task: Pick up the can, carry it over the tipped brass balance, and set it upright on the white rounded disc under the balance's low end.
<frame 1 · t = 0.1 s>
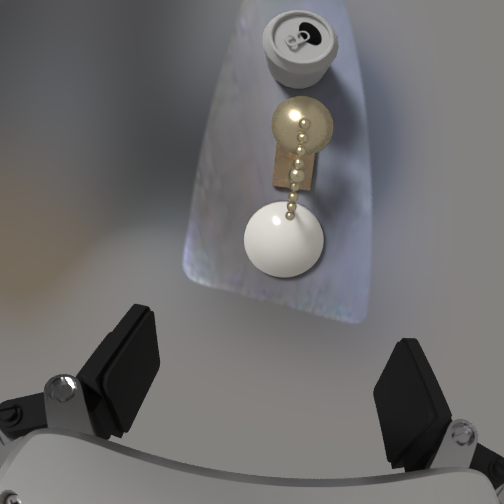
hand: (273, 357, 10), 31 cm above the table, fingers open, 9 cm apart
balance: (293, 164, 37), on the table
can: (296, 64, 32), on the table
white rounded disc: (283, 238, 41), on the table
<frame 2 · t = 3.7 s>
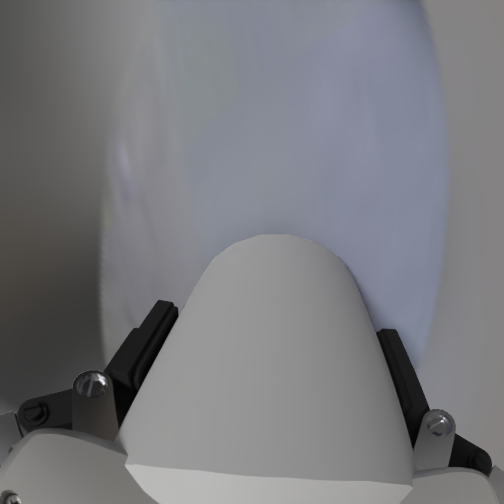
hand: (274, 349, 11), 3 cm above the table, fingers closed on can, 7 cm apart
can: (277, 300, 14), on the table, touching gripper
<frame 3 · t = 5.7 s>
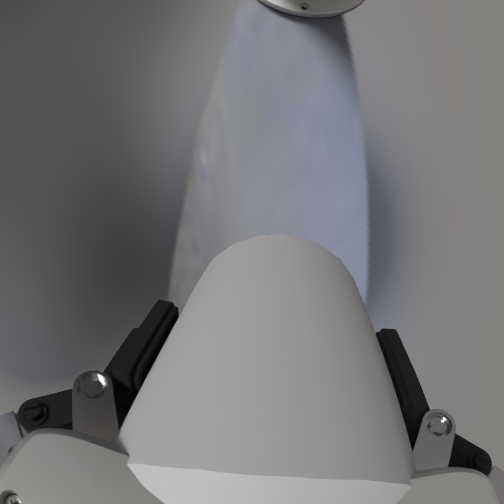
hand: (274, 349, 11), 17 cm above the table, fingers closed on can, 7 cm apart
can: (277, 300, 14), point 14 cm above the table, touching gripper
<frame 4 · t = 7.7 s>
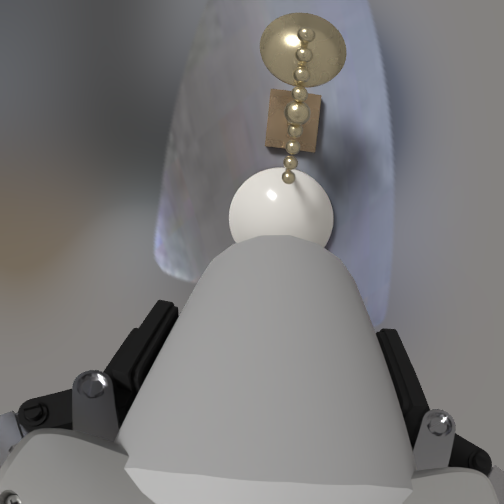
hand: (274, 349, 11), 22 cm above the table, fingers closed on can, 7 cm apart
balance: (292, 120, 27), on the table
can: (277, 301, 14), point 19 cm above the table, touching gripper
white rounded disc: (281, 217, 31), on the table
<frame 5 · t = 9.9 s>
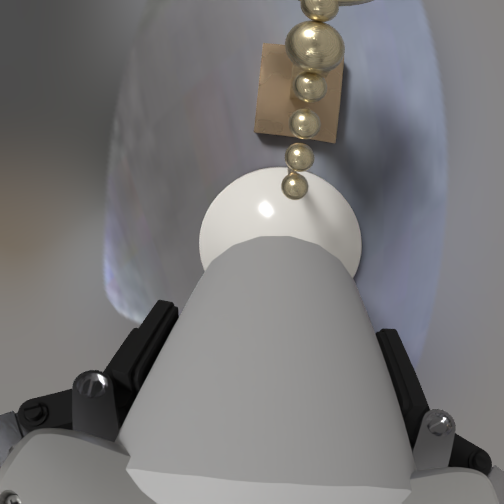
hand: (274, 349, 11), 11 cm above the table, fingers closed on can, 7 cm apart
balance: (299, 92, 16), on the table
can: (277, 301, 14), point 7 cm above the table, touching gripper
white rounded disc: (280, 245, 20), on the table
when the fingers open (6 cm above the table, at t = 11.9 s): can drops 2 cm, resting on white rounded disc.
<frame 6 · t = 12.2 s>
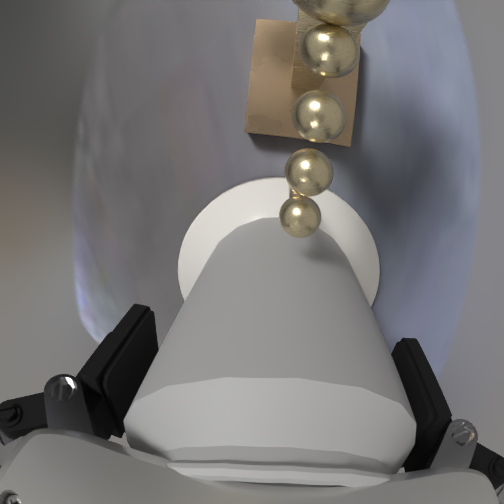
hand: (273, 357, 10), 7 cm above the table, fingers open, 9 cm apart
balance: (303, 81, 12), on the table
can: (278, 279, 15), point 1 cm above the table, touching white rounded disc
white rounded disc: (279, 274, 16), on the table
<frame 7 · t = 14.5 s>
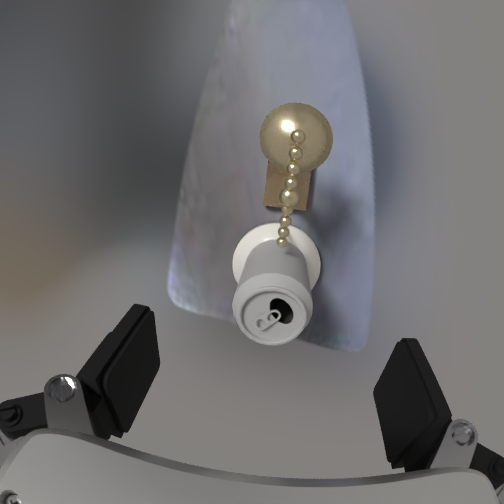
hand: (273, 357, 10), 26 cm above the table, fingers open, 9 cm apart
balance: (287, 181, 34), on the table
can: (276, 265, 36), point 1 cm above the table, touching white rounded disc
white rounded disc: (276, 263, 37), on the table
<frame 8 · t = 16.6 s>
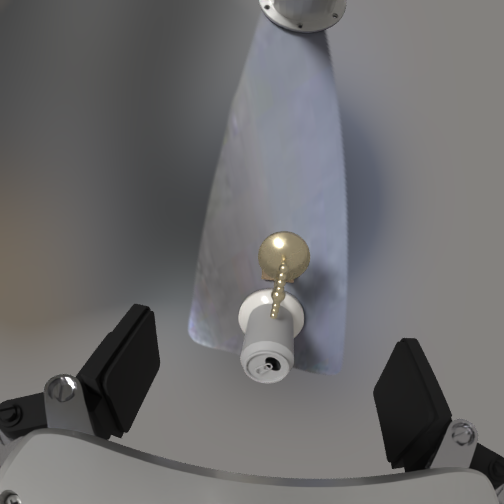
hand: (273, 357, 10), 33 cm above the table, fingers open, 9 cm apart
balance: (280, 260, 45), on the table
can: (271, 318, 48), point 1 cm above the table, touching white rounded disc
white rounded disc: (271, 316, 49), on the table
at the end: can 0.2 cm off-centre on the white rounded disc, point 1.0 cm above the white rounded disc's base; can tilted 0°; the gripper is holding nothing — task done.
